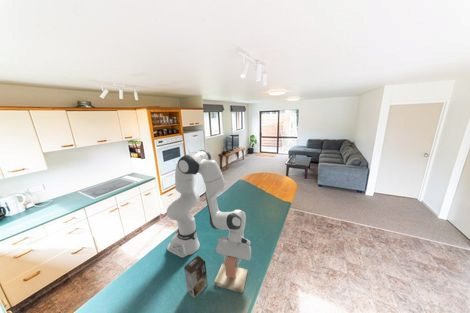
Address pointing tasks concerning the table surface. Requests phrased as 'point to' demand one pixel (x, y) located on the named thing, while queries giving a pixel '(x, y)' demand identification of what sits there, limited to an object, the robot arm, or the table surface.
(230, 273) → the brick block
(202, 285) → the coffee box
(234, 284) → the birch board
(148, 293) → the table surface
